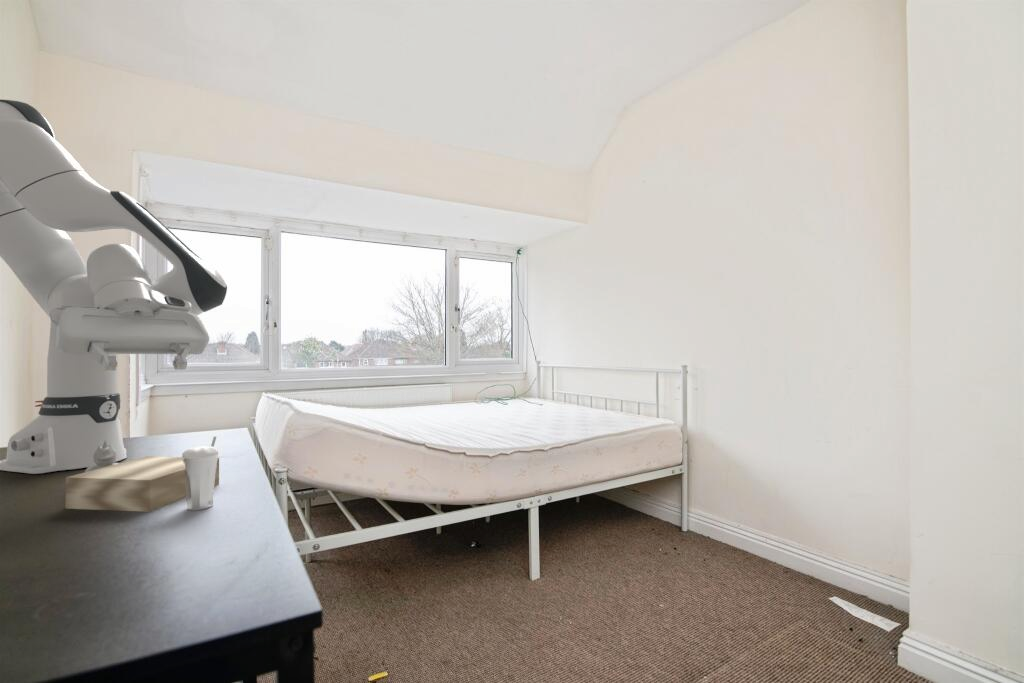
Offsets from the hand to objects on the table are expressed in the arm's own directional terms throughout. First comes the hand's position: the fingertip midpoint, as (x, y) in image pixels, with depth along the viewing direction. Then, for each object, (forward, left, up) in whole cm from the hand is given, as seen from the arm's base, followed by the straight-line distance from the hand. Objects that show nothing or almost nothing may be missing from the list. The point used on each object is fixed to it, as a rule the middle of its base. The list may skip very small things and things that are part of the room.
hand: (147, 367), depth 77 cm
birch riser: (-1, +1, -21) cm, 21 cm away
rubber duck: (-14, +6, -21) cm, 26 cm away
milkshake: (+12, -3, -21) cm, 25 cm away
